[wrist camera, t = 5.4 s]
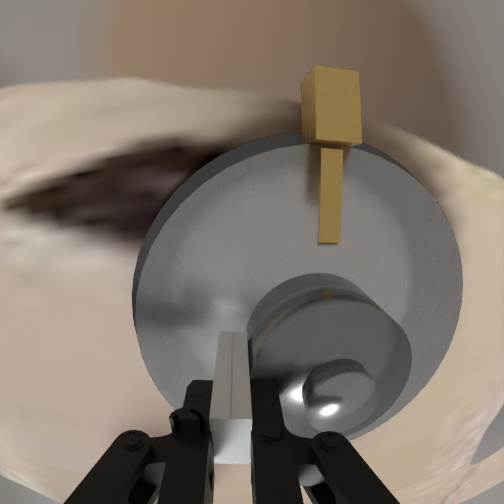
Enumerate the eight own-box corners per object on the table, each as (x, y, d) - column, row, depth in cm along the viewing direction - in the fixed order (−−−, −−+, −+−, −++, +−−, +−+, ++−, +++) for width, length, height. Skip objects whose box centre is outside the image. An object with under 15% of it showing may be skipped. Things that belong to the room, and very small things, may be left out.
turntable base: (160, 430, 23) (158, 438, 22) (129, 137, 17) (124, 135, 16) (410, 413, 24) (414, 419, 23) (458, 157, 18) (466, 157, 17)
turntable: (167, 434, 21) (160, 463, 18) (139, 88, 15) (120, 70, 12) (410, 415, 22) (425, 438, 19) (457, 115, 16) (487, 109, 13)
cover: (245, 391, 18) (248, 469, 12) (244, 273, 16) (248, 330, 10) (362, 382, 18) (399, 446, 12) (381, 271, 16) (445, 314, 10)
